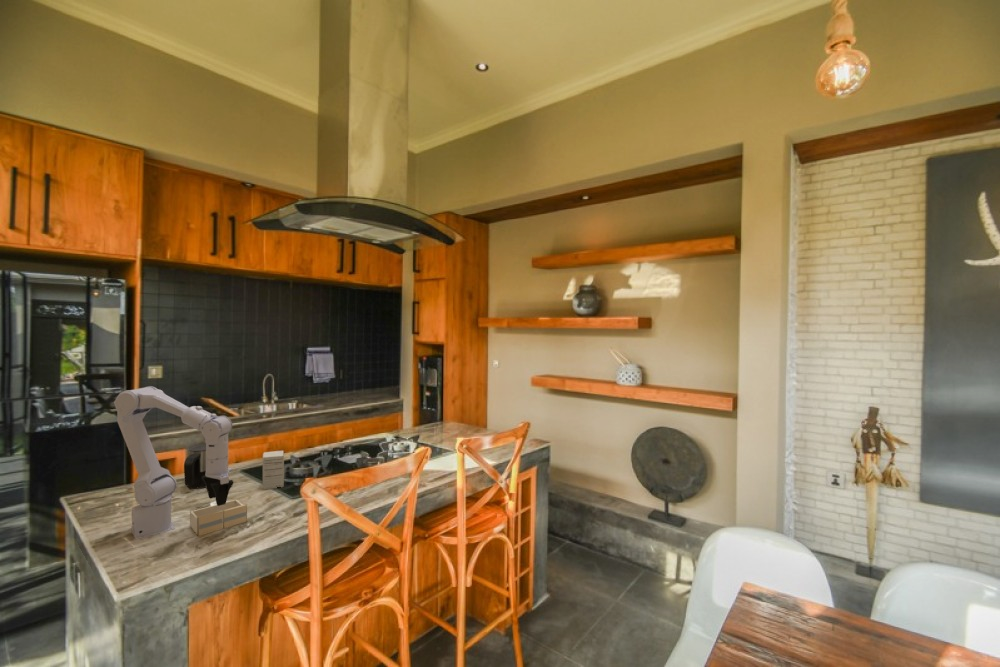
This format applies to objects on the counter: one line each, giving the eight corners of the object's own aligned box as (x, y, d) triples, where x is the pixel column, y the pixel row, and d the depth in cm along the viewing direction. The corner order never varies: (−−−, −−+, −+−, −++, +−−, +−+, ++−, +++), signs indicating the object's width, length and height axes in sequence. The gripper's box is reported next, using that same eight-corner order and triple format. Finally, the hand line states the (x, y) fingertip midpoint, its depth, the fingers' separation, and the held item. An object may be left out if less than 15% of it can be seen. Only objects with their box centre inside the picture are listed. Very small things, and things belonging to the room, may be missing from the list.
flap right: (246, 520, 141) (246, 503, 141) (247, 521, 141) (247, 504, 141) (223, 527, 137) (223, 510, 136) (224, 528, 136) (224, 511, 136)
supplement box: (263, 483, 174) (263, 452, 174) (284, 481, 177) (284, 450, 177) (262, 490, 168) (262, 457, 167) (283, 487, 171) (283, 455, 170)
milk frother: (191, 482, 175) (191, 445, 174) (236, 477, 181) (236, 441, 180) (180, 495, 162) (180, 455, 161) (230, 489, 168) (230, 451, 167)
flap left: (197, 536, 131) (197, 518, 130) (196, 535, 131) (196, 517, 131) (222, 529, 135) (222, 511, 135) (221, 528, 136) (221, 510, 136)
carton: (197, 536, 132) (197, 519, 132) (190, 527, 137) (190, 511, 137) (245, 521, 141) (245, 506, 141) (236, 514, 147) (236, 499, 147)
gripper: (240, 459, 132) (240, 504, 133) (224, 449, 142) (224, 491, 142) (213, 464, 127) (213, 511, 128) (198, 454, 137) (198, 497, 137)
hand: (217, 501), depth 135 cm, fingers open, 7 cm apart
